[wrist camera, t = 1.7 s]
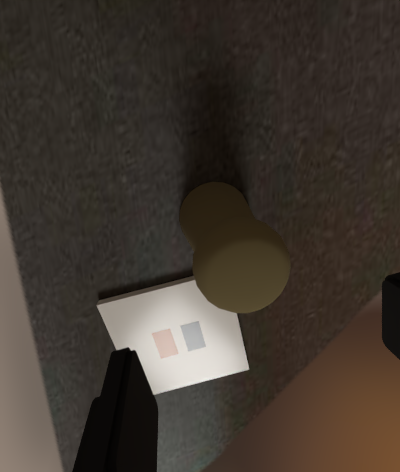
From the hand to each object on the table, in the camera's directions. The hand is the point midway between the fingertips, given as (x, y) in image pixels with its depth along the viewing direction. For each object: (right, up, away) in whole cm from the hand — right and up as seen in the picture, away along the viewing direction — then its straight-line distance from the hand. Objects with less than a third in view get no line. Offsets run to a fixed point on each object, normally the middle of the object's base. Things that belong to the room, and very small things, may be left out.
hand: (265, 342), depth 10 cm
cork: (-1, +6, +14) cm, 15 cm away
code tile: (-5, -6, +17) cm, 19 cm away
